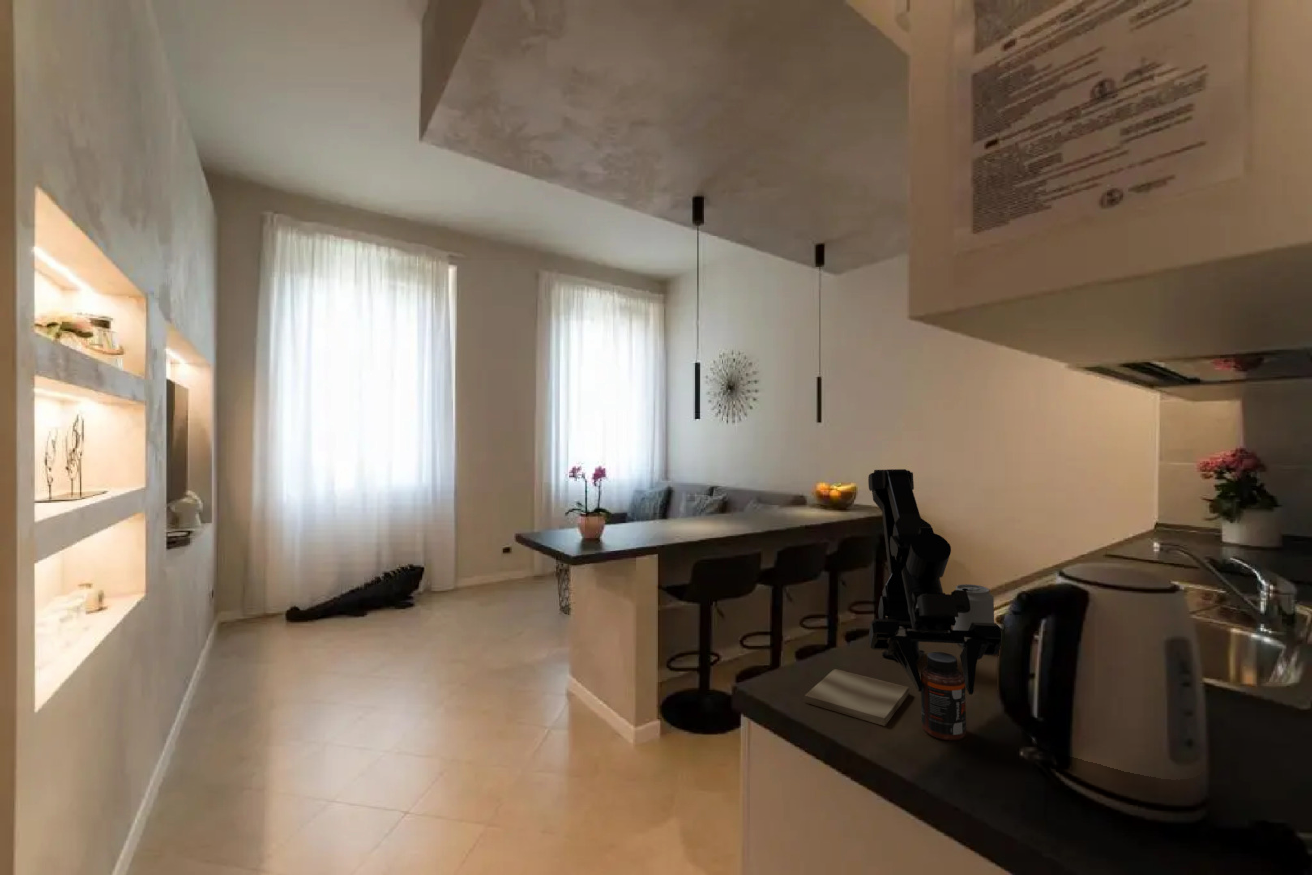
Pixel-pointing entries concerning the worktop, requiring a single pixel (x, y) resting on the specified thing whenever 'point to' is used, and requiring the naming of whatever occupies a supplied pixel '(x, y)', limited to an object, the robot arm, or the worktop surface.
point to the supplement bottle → (943, 697)
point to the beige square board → (858, 696)
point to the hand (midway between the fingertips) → (945, 692)
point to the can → (975, 607)
